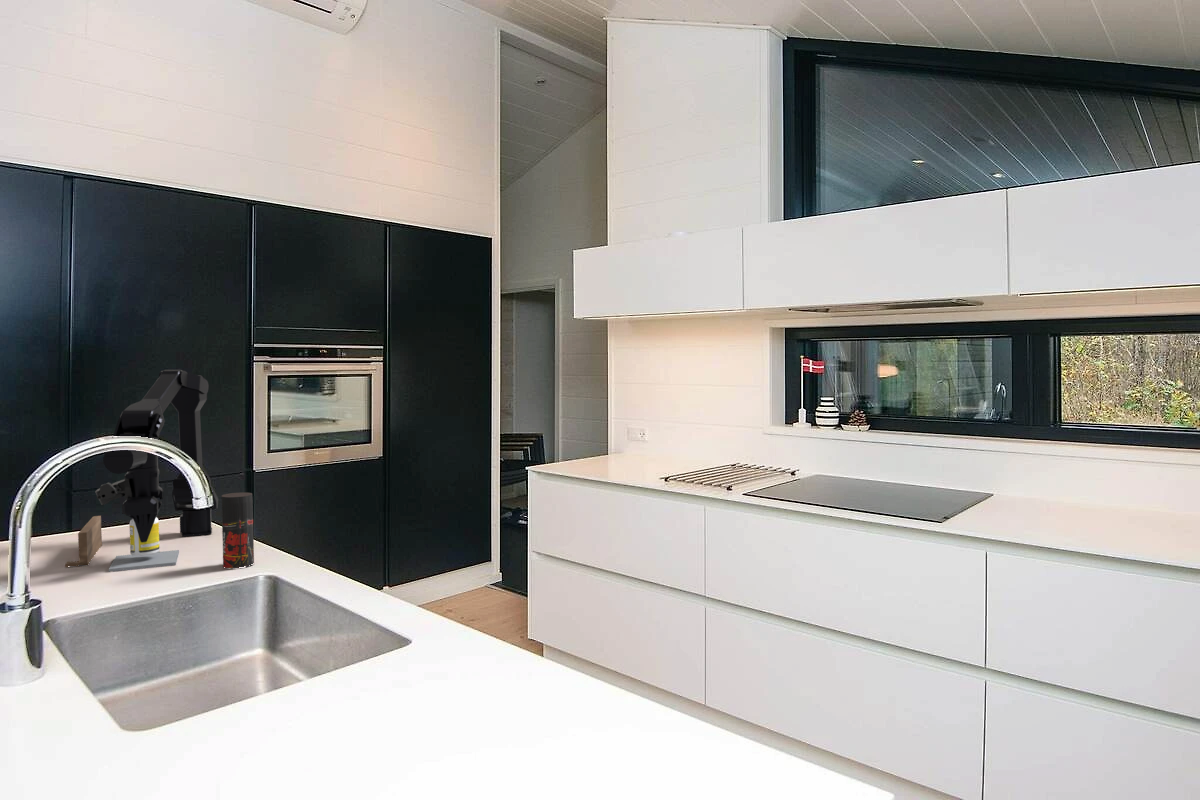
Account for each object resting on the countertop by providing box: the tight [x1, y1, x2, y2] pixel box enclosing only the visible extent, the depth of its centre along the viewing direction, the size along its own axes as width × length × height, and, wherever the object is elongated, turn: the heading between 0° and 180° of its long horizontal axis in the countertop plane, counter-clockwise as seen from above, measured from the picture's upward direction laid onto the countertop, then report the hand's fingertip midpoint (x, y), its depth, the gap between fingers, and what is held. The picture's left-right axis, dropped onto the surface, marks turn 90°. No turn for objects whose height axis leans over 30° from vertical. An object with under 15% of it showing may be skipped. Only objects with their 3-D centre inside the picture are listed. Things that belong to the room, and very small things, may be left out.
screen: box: [64, 515, 103, 568], centre depth 169 cm, size 4×20×7 cm, turn 26°
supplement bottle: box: [129, 517, 160, 556], centre depth 164 cm, size 5×5×10 cm
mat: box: [108, 549, 180, 573], centre depth 164 cm, size 12×12×1 cm
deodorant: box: [221, 492, 255, 569], centre depth 161 cm, size 6×6×15 cm
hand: (145, 539), depth 164 cm, fingers open, 5 cm apart
